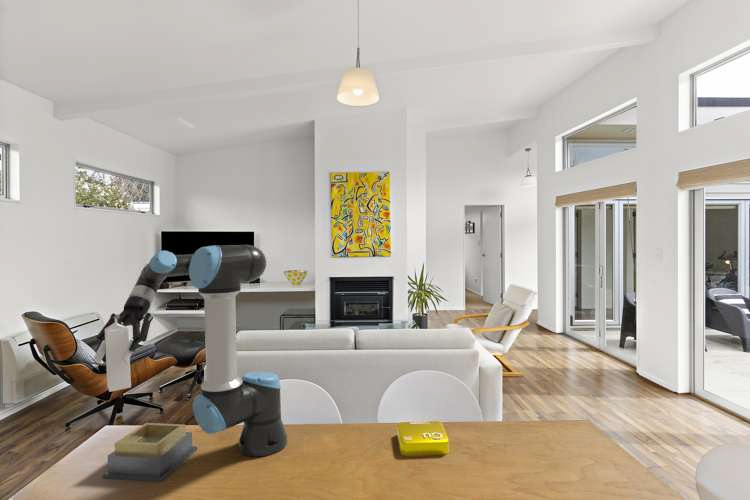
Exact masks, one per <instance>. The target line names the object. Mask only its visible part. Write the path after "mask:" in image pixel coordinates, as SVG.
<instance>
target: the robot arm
mask: <svg viewBox="0 0 750 500" xmlns="http://www.w3.org/2000/svg"><path fill="white" fill-rule="evenodd" d="M266 259H267V257H266V256H265V254H264V252H263V251H262V250H261V249H259V248H258V247H256V246H254V245H251V244H234V245H233V244H230V245H227V244H226V245H225V244H224V245H215V244H214V245H208V246H201V247H200V248H198V249H197V250H195V252H194V253H191V254H175V253H173V252H171V251H168V250H160V251H157V252H156V253H155V254H154V255H153V256H152V257H151V259H150V260H149V262H148V263H146V264H145V265H144V267H143V268H142V270H141V271H140V275H139V276H138V279H137V281H136V282H135V284H134V286H133V288H132V290H131V292H130V293H129V295H128V298H127V299H126V301H125V303H124V305H123V310H122V311H121V312H120V313H119V314H116V313H114V312H113V313H111V314H110V316H109V319H108V321H107V322H106V324H105V325H104V326H103V328H102V329H101V330H100V331H99V333H98V334H97V336H95V338H96V340H97V341H98V342H99V343H98V346H96V352H95V354H94V357H93V360H95V361H96V362H97V363H101V362H102V360H103V359H104V357H105V356H106V347H105V329H106V328H107V327H109V326H110V325H112V324H113V323H115V318H116V320H117V323H118V324H121V325H123V326H126V327H127V326H132V337H131V339H129V343H128V345H127V347H126V349H125V351H124V353H123V355H122V357H121V358H122V359H123V360H124V361H125V362H128V361H129V358H131V356H132V354H133V352H135V351H136V350H137V347H138V345H139V344H140V343H141V342H143V343H144V342H145V343H146V342H147V339H148V336H149V335H148V334H149V330H150V326H151V323H152V322H153V319H154V316H153V315H152V314H151V312H149V310H150V307H151V305H152V303H153V302H154V299H155V296H156V294H157V292H158V290H159V288H160V287H161V284H162V283H163V282H164V281H165V280H166V278H168V277H177V276H188V275H189V279H190V283H191V285H192V286H193V287H195V289H196V288H197V290H198V294H199V295H200V296H201V297H203V300H204V301H203V303H204V306H203V307H204V336H205V337H204V338H205V340H204V341H205V373H206V374H205V375H206V376H205V380H204V381H203V382H202V384H201V385H200V394H198V395H196V396H195V397H194V399H193V402H192V410H193V415H194V418H195V421H196V422H197V424H198V426H199V428H201V430H202V431H203V432H204V433H207V434H209V435H214V434H217V433H220V432H224V431H226V430H228V429H230V428H233V427H235V426H238V425H240V424H242V423H243V425H242V429H241V432H240V436H239V440H238V450H239V453H241V454H242V455H244V456H249V457H265V456H269V455H273V454H275V453H278V452H280V451H281V450H283V449H284V448H285V447H286V446H287V444H288V433H287V430H286V428H285V425H284V422H283V421H282V410H281V409H282V408H281V406H282V405H281V402H282V401H281V389H282V388H281V381H280V377H279V375H277V374H276V373H274V372H269V371H252V372H251V371H250V372H246V373H244V374H243V375H241V377H240V376H238V358H237V357H238V356H237V355H238V352H237V351H238V350H237V348H238V347H237V315H236V313H237V312H236V311H237V309H236V306H237V305H236V297H237V295H239V293H240V292H241V288H242V287H241V284H243V283H244V284H245V283H250V282H254V281H255V280H258V279H259V278H260V277H261V276H262V275H263V274H264V272H265V270H266V268H267V260H266ZM141 321H142V323H141Z"/></svg>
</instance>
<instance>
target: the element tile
mask: <svg viewBox="0 0 750 500" xmlns="http://www.w3.org/2000/svg"><path fill="white" fill-rule="evenodd" d="M396 433H397V434H396V436H397V441H398V446H399V447H398V448H399V453H400V455H402V456H405V457H416V456H419V457H420V456H421V457H422V456H440V455H442V456H445V455H448V454H449V453H450V439H449V436H448V434H447V432H446V430H445V427H444V425H443V423H442V422H441V421H439V420H428V421H426V420H425V421H404V422H403V421H402V422H398V423H397V425H396Z"/></svg>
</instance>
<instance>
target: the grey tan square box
mask: <svg viewBox="0 0 750 500" xmlns="http://www.w3.org/2000/svg"><path fill="white" fill-rule="evenodd" d="M197 450H198V446H193V432H192V431H191V432H189V431H186V424H181V423H179V424H178V423H159V422H156V423H154V422H145V423H144V424H142V425H141V426H139V427H137V428H136V429H135V430H133V431H131V432H130V433H128V434H127V435H125V436H124V437H122V438H121V439H119V440H118V441H116V442H114V451H112V452H111V453H109V454H108V455H107V469H108V470H107V471H106V472H104V473H103V474H102V479H109V480H111V479H112V480H122V481H123V480H124V481H125V480H127V481H138V482H139V481H140V482H141V481H142V482H153V483H155V482H157V483H162V482H163V481H164V480H165V479H166V478H167V477H168V476H170V475H171V473H173V472H174V471H175V470H176V469H177V468H179V467H180V465H182V464H183V463H185V461H186V460H188V459H189V458H190V457H191V456H193V454H194V453H196V451H197Z"/></svg>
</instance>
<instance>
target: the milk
mask: <svg viewBox="0 0 750 500" xmlns="http://www.w3.org/2000/svg"><path fill="white" fill-rule="evenodd" d="M129 341H130V337H129V329H128V327H127V326H123V325H121V324H118V323H117V320H116V318H115V323H113V324H112V325H110V326H109V327H107V328H106V329H105V347H106V353H105V361H106V362H105V365H106V384H107V389H108V392H109V393H110V392H111V393H112V392H115V391H116V392H117V391H120V390H126V389H131V387H132V382H131V381H132V380H131V359H130V358H131V357H130V358H129V361H128V362H125V361H124V360H123V359H122V358H121V357H122V355H123V353H124V351H125V349H126V347H127V345H128V343H129Z"/></svg>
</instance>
